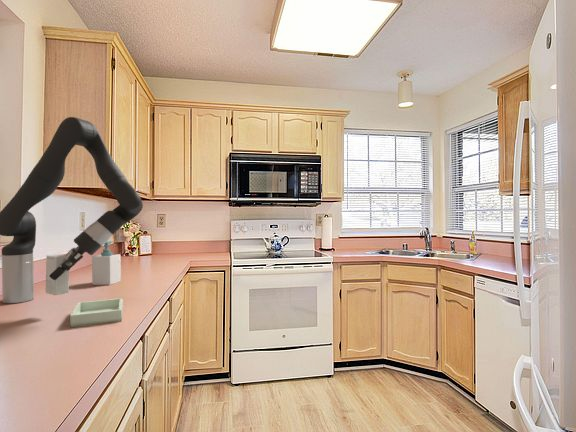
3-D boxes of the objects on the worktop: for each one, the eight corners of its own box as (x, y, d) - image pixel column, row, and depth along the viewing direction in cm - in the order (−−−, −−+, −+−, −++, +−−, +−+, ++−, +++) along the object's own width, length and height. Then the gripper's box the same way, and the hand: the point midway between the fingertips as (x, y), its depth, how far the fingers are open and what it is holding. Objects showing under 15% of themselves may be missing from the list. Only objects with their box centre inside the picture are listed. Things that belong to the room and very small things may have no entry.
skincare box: (44, 293, 111) (44, 255, 110) (59, 290, 115) (59, 253, 114) (55, 295, 108) (55, 256, 107) (70, 292, 112) (70, 254, 111)
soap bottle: (121, 281, 165) (120, 240, 165) (110, 285, 156) (109, 242, 156) (104, 281, 166) (103, 240, 166) (92, 284, 157) (91, 242, 157)
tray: (78, 312, 113) (78, 302, 113) (122, 307, 119) (122, 298, 119) (70, 327, 99) (70, 315, 99) (121, 321, 104) (121, 310, 104)
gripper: (82, 228, 121) (41, 265, 114) (86, 231, 109) (40, 272, 103) (100, 243, 124) (61, 279, 118) (105, 247, 112) (62, 288, 106)
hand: (51, 276), depth 110 cm, fingers closed on skincare box, 7 cm apart
